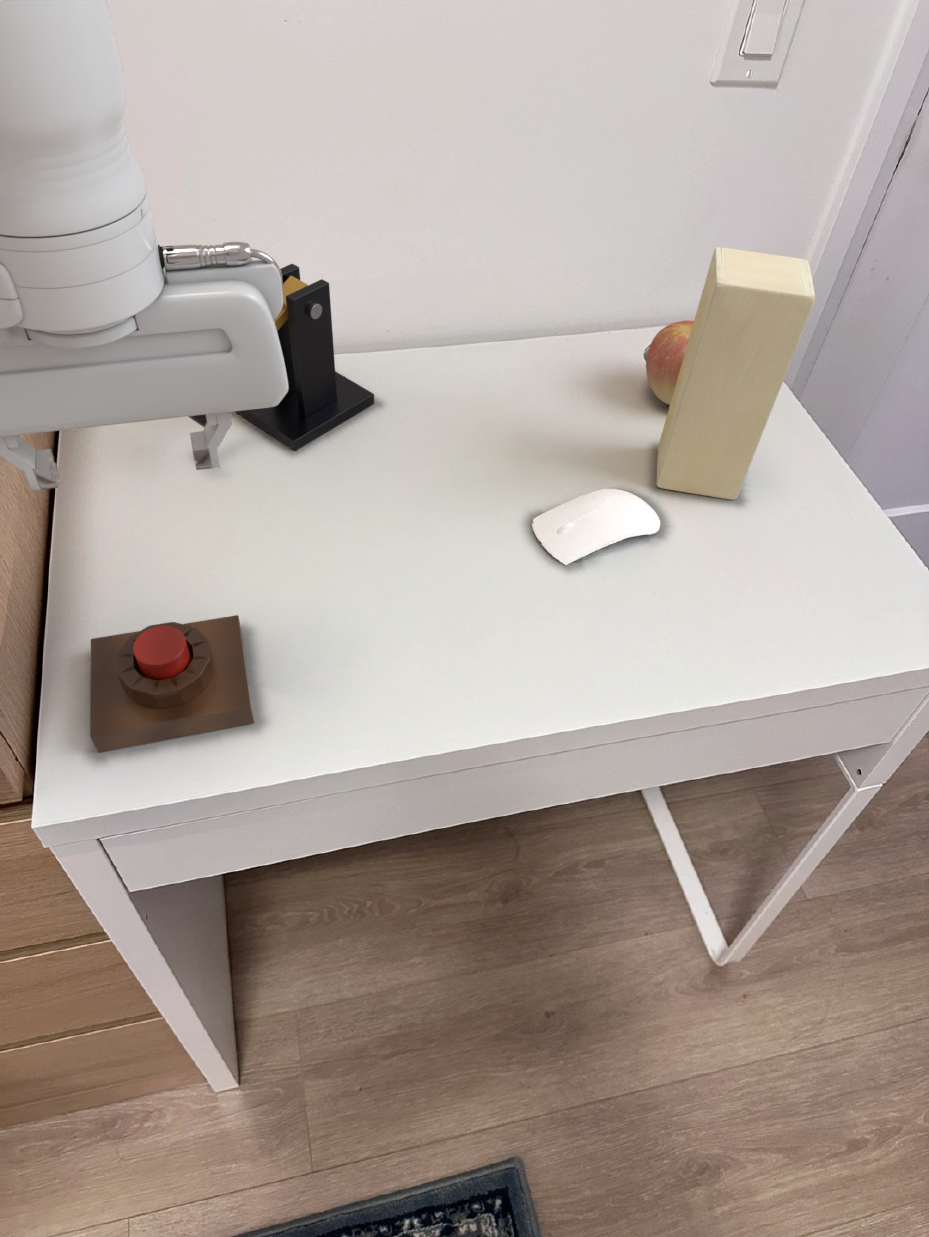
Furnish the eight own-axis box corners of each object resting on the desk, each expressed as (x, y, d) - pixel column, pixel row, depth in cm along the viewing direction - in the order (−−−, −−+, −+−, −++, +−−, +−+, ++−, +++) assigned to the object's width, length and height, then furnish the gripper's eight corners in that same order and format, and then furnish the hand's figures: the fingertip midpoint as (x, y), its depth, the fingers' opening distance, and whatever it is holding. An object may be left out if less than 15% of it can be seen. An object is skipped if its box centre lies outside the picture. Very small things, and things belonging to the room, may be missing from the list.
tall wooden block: (736, 454, 88) (809, 254, 73) (738, 501, 84) (816, 298, 68) (657, 442, 89) (712, 241, 73) (655, 488, 84) (713, 284, 68)
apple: (630, 408, 93) (646, 341, 87) (649, 365, 98) (665, 299, 92) (711, 429, 91) (733, 362, 85) (725, 384, 96) (747, 318, 90)
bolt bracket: (294, 451, 85) (279, 323, 75) (234, 412, 89) (212, 284, 78) (374, 403, 91) (370, 278, 80) (315, 368, 94) (304, 244, 84)
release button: (139, 684, 62) (133, 669, 61) (137, 645, 64) (132, 630, 63) (191, 674, 63) (187, 659, 61) (188, 637, 65) (183, 621, 64)
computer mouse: (523, 520, 80) (526, 501, 79) (632, 488, 84) (637, 469, 82) (559, 569, 76) (563, 550, 75) (672, 533, 80) (678, 514, 79)
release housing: (98, 753, 62) (82, 721, 59) (98, 656, 68) (83, 623, 65) (254, 723, 64) (247, 692, 61) (242, 632, 70) (234, 599, 67)
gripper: (270, 212, 47) (291, 422, 58) (-153, 237, 43) (-47, 461, 53) (287, 269, 43) (307, 483, 54) (-176, 304, 39) (-57, 531, 49)
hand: (128, 472), depth 53 cm, fingers open, 8 cm apart
